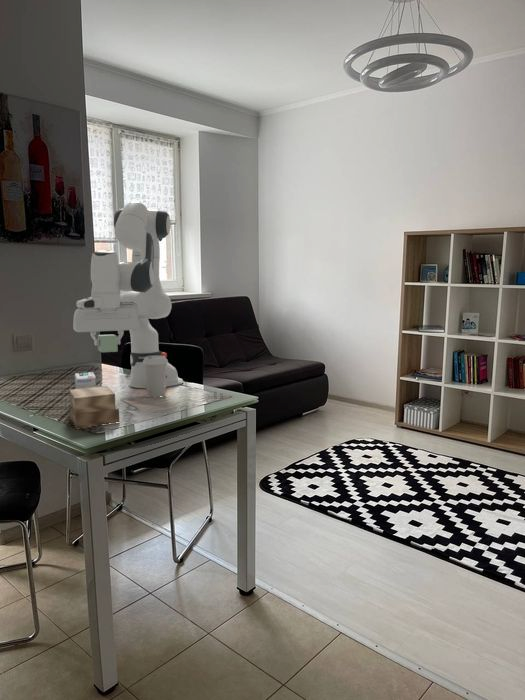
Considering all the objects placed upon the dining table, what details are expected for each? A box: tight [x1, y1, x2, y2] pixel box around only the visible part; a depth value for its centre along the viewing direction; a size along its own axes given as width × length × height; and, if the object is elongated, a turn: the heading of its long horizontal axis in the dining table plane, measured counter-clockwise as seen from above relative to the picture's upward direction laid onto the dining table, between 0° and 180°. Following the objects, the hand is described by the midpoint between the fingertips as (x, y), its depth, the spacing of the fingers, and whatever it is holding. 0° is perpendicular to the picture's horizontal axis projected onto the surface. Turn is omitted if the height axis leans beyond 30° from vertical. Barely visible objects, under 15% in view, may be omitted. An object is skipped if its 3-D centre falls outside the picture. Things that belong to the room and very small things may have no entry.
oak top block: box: [69, 385, 117, 414], centre depth 165 cm, size 12×12×5 cm
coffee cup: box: [143, 356, 169, 398], centre depth 198 cm, size 10×10×15 cm
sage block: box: [97, 333, 119, 353], centre depth 166 cm, size 5×5×5 cm
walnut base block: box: [68, 404, 120, 429], centre depth 166 cm, size 13×13×5 cm
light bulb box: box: [74, 371, 97, 389], centre depth 186 cm, size 11×7×11 cm, turn 23°
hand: (107, 345), depth 166 cm, fingers closed on sage block, 5 cm apart
